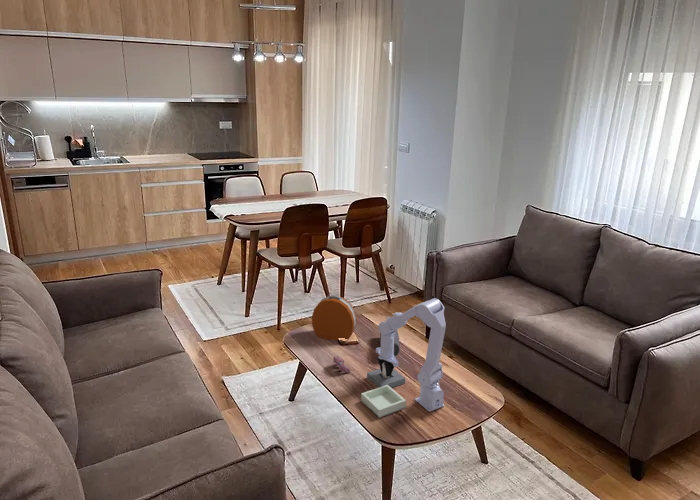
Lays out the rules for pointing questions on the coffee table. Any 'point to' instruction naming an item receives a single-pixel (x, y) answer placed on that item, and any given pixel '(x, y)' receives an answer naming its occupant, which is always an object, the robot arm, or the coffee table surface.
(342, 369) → the video game controller
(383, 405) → the parts tray
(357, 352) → the coffee table surface
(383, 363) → the cylinder
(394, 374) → the grey square frame
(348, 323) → the alarm clock
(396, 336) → the bluetooth speaker
